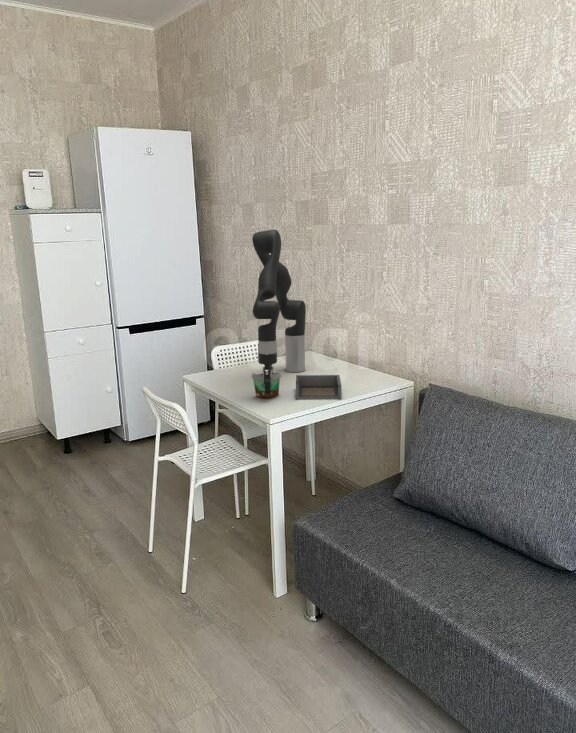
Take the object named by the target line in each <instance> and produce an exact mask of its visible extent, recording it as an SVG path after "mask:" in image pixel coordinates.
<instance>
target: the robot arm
mask: <svg viewBox="0 0 576 733" xmlns="http://www.w3.org/2000/svg"><path fill="white" fill-rule="evenodd" d="M251 239H252V245H253V248H254V251H255V252H256V255H257V256H258V259H259V261H260V262H261V263H262V266H263V268H262V270H261V271H260V274H259V277H258V281H257V282H258V285H257V287H258V288H257V295H256V298H255V301H254V303H253V307H252V314H253V316H254V318H255V319H256V320H270V322H269V323H265V324H261V325H259V326H258V328H257V334H258V335H257V336H258V339H257V340H258V342H257V357H258V359H257V361H258V364H259V365H263V368H262V374H263V379H264V385H265V394H270V393H271V379H272V374H273V373H274V372H273V371H274V366H273V365H275V364H277V363H278V345H277V323H278V320H279V316H280V314H281V316H282V318H283V319H284V320H287V321H295V324H293V325H291V326H288V327H286V328H285V329H284V342H285V343H284V345H285V346H284V347H285V350H284V352H285V356H284V357H285V371H286V372H289V373H301V372H304V371H305V370H306V342H305V341H306V339H305V338H306V336H305V333H306V332H305V331H306V314H307V313H306V309H307V307H306V302H305V301H304V300H298V299H296V300H295V299H289V298H288V296H287V295H288V293H289V291H290V289H291V287H292V278H291V275H290V272H289V270H288V268H287V267H286V266H285V265H284V264H283V263H282V262H280V257H281V250H282V238H281V234H280V232H279V230H278V229H268V230H261V231H257V232H254V233H253V235H252V237H251ZM273 298H276V300H271V299H273ZM270 375H271V376H270ZM266 380H269V382H266Z"/></svg>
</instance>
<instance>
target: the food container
mask: <svg viewBox="0 0 576 733" xmlns="http://www.w3.org/2000/svg"><path fill="white" fill-rule="evenodd" d="M270 376H271V375H270ZM281 378H282V372H281V370H279V372H273V374H272V379H271V393H270V394H265V385H264V379H263V373H259V374H257V373H254V372H252V374H251V379H252V380H253V386H254V393H255V397H256V398H258V399H264V400H265V399H266V400H271V399H274V398H277V397H279V392H280V380H281ZM266 382H269V380H266Z"/></svg>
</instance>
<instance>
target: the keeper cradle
mask: <svg viewBox="0 0 576 733" xmlns="http://www.w3.org/2000/svg"><path fill="white" fill-rule="evenodd" d="M295 377H296V378H295V401H296V400H342V381H341V377H340V374H315V375H313V374H311V375H310V374H309V375H308V374H307V375H306V374H302V375H300V374H299V375H298V374H297V375H296V376H295Z"/></svg>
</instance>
